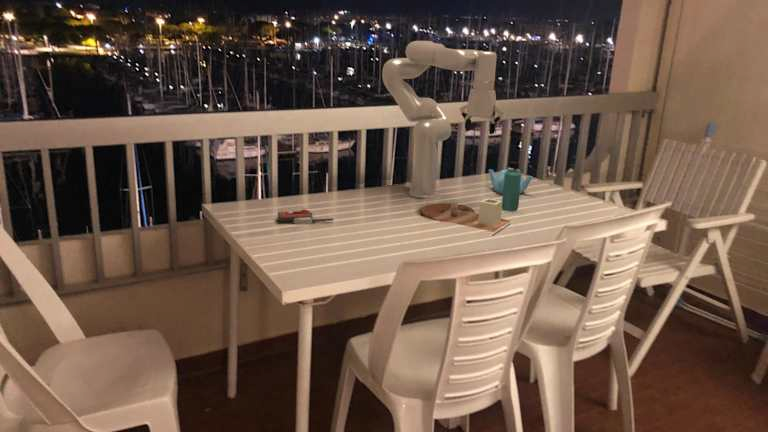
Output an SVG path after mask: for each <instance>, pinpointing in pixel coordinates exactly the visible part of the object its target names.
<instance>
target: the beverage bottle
mask: <svg viewBox="0 0 768 432" xmlns="http://www.w3.org/2000/svg"><path fill="white" fill-rule="evenodd" d="M508 167H509V168H513V169H514V170H508V169H507V170H508V171H506V172H505V177H504V187H503V194H502V197H501V198H502V200H501V201H502V210H503V211H508V212H515V211H518V209H519V207H520V206H519V205H520V204H519V203H520V194H519V193H520V181H521V175H522V172H519V171H517V170H516V169H520V162H519V161H509V162H508V164H507V168H508Z"/></svg>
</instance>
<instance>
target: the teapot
mask: <svg viewBox="0 0 768 432" xmlns="http://www.w3.org/2000/svg"><path fill="white" fill-rule="evenodd" d="M508 170H517V171H519V172H520V171H521V170H520V168H518V169H513V168H509V167H508V166H507V169H502V170H501V171H499V173H497V175H496V174H495V171H494V169H488V173H489V177H490V181H491V185H492V188H493V190H494V191H495V193H497V194H500V195H503V187H504V177H505V172H506V171H508ZM520 173H521V172H520ZM532 179H533V176H532V175H528V176H527V178H526V179H524V177H523V175H522V174H521V181H520V193H519V195H521V194H523V193H524V192H525V190H527V189H528V187H529V184H530V182H531V181H532Z"/></svg>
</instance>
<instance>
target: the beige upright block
mask: <svg viewBox="0 0 768 432" xmlns="http://www.w3.org/2000/svg"><path fill="white" fill-rule="evenodd" d="M478 208H479V209H478V214H479V219H478V223H479V224H484V225H489V226H493V227H494V226H496V225H497V224H499V223H500V221H501V219H502V212H503V211H502V210H503V209H502V200H499V199H494V198H488V197H487V198H484V199H482V200H481V201H479V207H478Z"/></svg>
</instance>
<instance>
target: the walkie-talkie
mask: <svg viewBox="0 0 768 432" xmlns="http://www.w3.org/2000/svg"><path fill="white" fill-rule="evenodd" d="M275 221H276V223H279V224H282V223H283V224H284V223H285V224H296V225H312V224H314V223H322V222H323V223H324V222H329V221H330V222H331V221H334V218H332V217H331V218H314V216H313V213H312V212H311V211H310V210H308V209H307V208H294V209H292V210H289V209H286V211H277V219H276V220H275Z"/></svg>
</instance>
